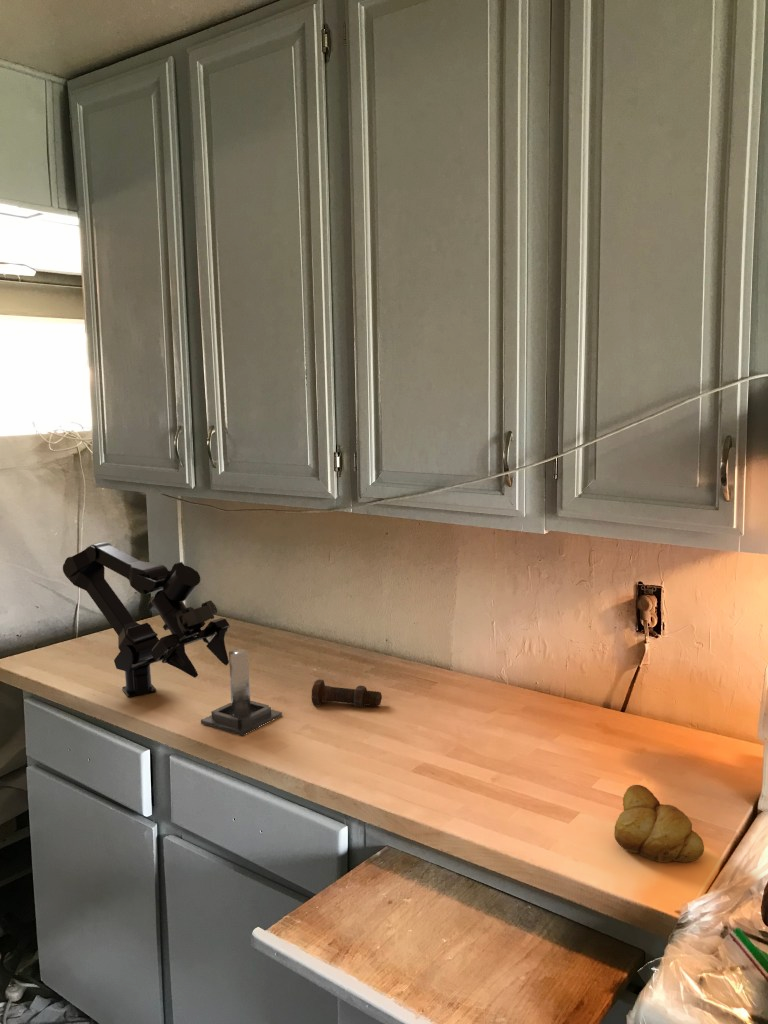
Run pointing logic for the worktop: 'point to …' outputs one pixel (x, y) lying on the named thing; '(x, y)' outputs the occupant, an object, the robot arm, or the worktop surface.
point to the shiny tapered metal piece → (239, 683)
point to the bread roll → (656, 828)
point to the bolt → (344, 695)
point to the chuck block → (241, 726)
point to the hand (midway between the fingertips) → (212, 670)
